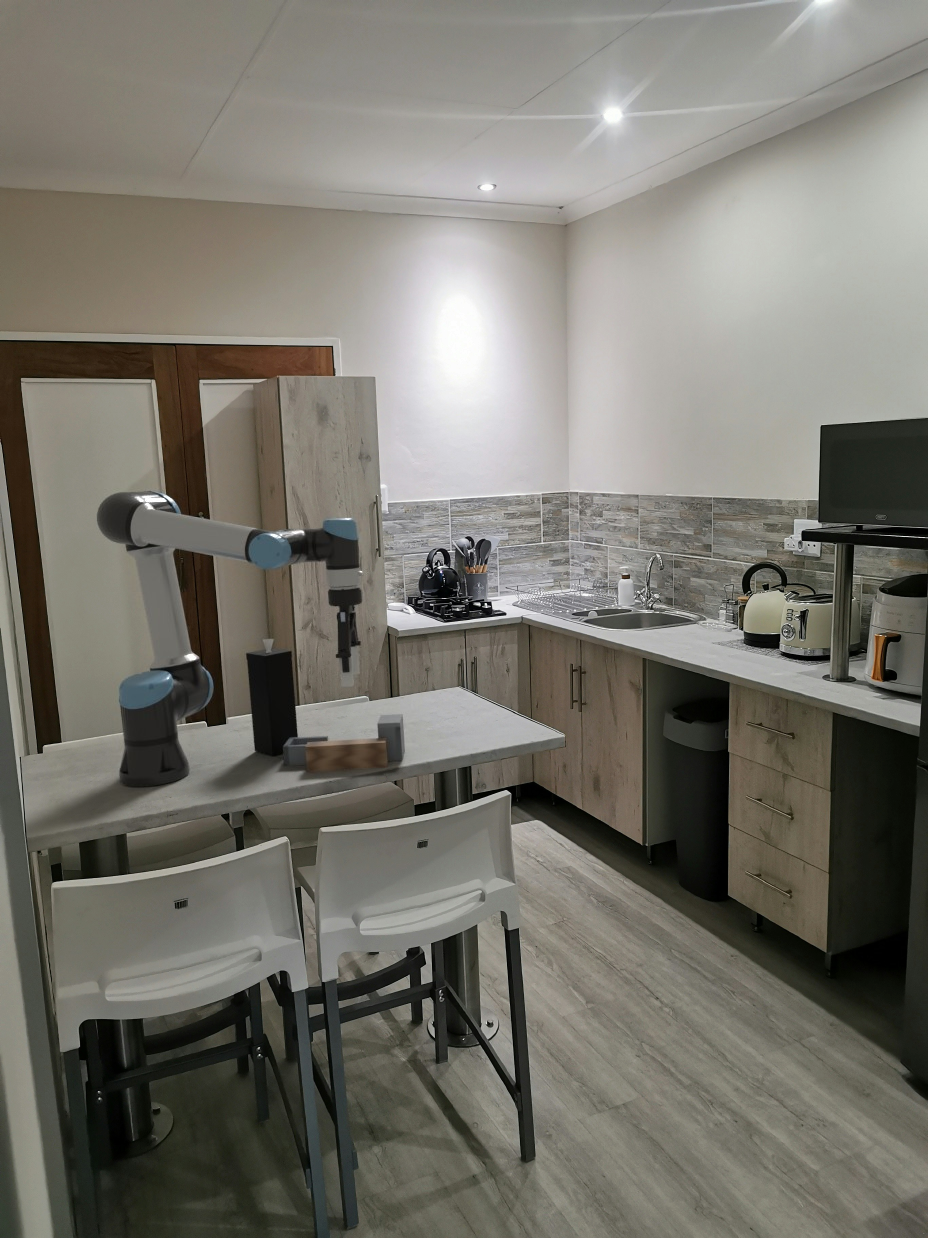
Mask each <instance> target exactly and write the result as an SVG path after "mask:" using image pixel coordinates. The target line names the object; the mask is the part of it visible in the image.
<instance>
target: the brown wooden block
mask: <svg viewBox="0 0 928 1238" xmlns="http://www.w3.org/2000/svg"><path fill="white" fill-rule="evenodd" d="M305 749H306V762H307V765H306V771H307V773H311V772H314V773H315V772H325V771H326V772H328V771H329V772H330V771H344V770H345V771H348V770H362V769H363V770H364V769H377V768H381V769H382V768H388V764H389V761H388V758H387V742H386V738H378V737H377V738H376V737H375V738H374V737H373V738H357V739H341V740H339V739H338V740H328V741H320V742H308V743H307V745H306V747H305Z"/></svg>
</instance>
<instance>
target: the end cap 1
mask: <svg viewBox="0 0 928 1238" xmlns="http://www.w3.org/2000/svg"><path fill="white" fill-rule="evenodd" d="M320 741H329V735H321V736H319V735H318V736H298V737H293V738H289V739H288V741H287V742H286V743H285V745H284V746H283V753H282V755H283V764H284V767H287V766H307V762H306V749H305V747H306V745H307V743H308V742H320Z"/></svg>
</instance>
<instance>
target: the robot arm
mask: <svg viewBox="0 0 928 1238" xmlns="http://www.w3.org/2000/svg"><path fill="white" fill-rule="evenodd" d="M96 524H97V526H98V528H99V530H100V531H99V532H101V533H102V535H103V536H104V537H105V538H106V539H108V540H109V541H111V542H113V543H116V544H121V545H123V544H124V545H125V548H126V549H125V550H126V553H127V555H129V556H131V557H132V558H133V559H134V560H135V565H136V566H135V567H136V569H137V574H138V575H137V577H138V580H139V581H138V582H139V586H140V591H141V596H142V601H143V607H144V611H145V618H146V621H147V626H148V631H149V636H150V643H151V647H152V652H153V657H154V658H153V660H152V661H151V663H150V665H149V670H148V671H147V670H146V671H143V672H141V673H136V674H135V673H134V674H133V675H130V676H128V677H126V678H125V679H123V680H122V681H121V682H120V684H119V685H118V686H119V689H118V690H119V691H118V702H119V707H120V717H121V726H122V735H123V743H124V748H123V749H124V750H123V753H122V758H121V762H120V767H119V771H118V775H119V782H120V784H122V785H123V786H127V787H138V788H139V787H140V788H141V787H151V786H152V787H154V786H158V785H159V786H160V785H164V784H168V783H172V782H176V781H179V780H180V779H183V778H185V777H187V776H188V775H189V774H190V764H189V760H188V758H187V756H186V754H185V751H184V749H183V747H182V746H181V742H180V739H179V732H178V721H180V720H182V719H185V718H187V717H189V716H193V715H195V714H197V713H198V712H200V711H201V710H202V709H204V708H205V707H206V706H207V705H208V703H210V701H211V699H212V697H213V693H214V682H213V678H212V676H211V674H210V672H209V671H208V670H206V669H205V667H204V666H203V665H202V664H201V660H200V656H198V654H195V653H194V652H193V650H192V648H191V642H190V637H189V632H188V626H187V621H186V617H185V611H184V606H183V600H182V595H181V590H180V589H181V588H180V585H179V580H178V574H177V568H176V565H175V558H174V551H175V550H176V549H177V550H181V551H182V550H183V551H187V552H193V553H198V554H203V555H207V556H208V555H209V556H214V557H219V558H224V559H229V560H236V561H240V562H244V563H249V564H254V565H255V566H257V567H258V568H259V569H262V570H277V569H280V568H283V567H286V566H292V565H297V564H302V563H318V562H319V563H322V562H325V574H326V575H325V576H326V586H327V587H328V590H327V598H328V600H327V601H328V605H329V606H330V607H338V608H339V612H338V611H337V613H336V621H337V652H336V654H335V659H339V672H340V673H339V674H340V687H341V688H346V687H349V688H350V687H354V686H355V682H354V675H360V674H361V672H360V657H359V646H362V643H361V640H359V634H358V628H357V627H358V626H357V612H356V611H355V608H356V607H355V606H358V605H361V604H362V602H363V593H362V588H361V587H360V585H361V583H362V581H361V576H363V575H364V572H363V571H360V570H361V569H360V566H361V565H360V551H359V550H360V549H359V540H360V538H359V533H358V528H357V522H356V520H355V519H354V518H351V517H344V518H343V517H340V518H328V519H324V520H323V522H322V527H319V528H295V529H293V528H287V529H279V530H276V531H273V530H268V529H267V530H266V529H260V528H256V527H250V526H245V525H240V524H235V523H230V522H224V521H219V520H213V519H208V518H203V517H202V518H201V517H198V516H197V517H196V516H192V515H187V514H182V513H181V510H180V508H179V506H178V504H177V502H175V500H174V499H173V498H171V497H170V496H169V495H167V494H164V493H162V492H159V491H158V492H157V491H152V490H148V491H147V490H144V491H130V492H129V491H128V492H127V491H122V492H115V493H112V494H110V495H108V496H107V497H105V498H104V500H103V499H102V502H101V503H100V504H99V506H98V508H97V513H96Z"/></svg>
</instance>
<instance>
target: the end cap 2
mask: <svg viewBox="0 0 928 1238" xmlns="http://www.w3.org/2000/svg"><path fill="white" fill-rule="evenodd" d="M403 717H404V715H403V713H398V714H396V713H395V714H380V716H379V719H378V721H377V724H376V725H377V736H378V737H377V738H386V742H387V758H388V762H393V761H395V762H397V761H403V760H404V755H405V751H406V749H405V748H406V746H405V735H404V734H405V732H404V729H405V728H404V718H403Z"/></svg>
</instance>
